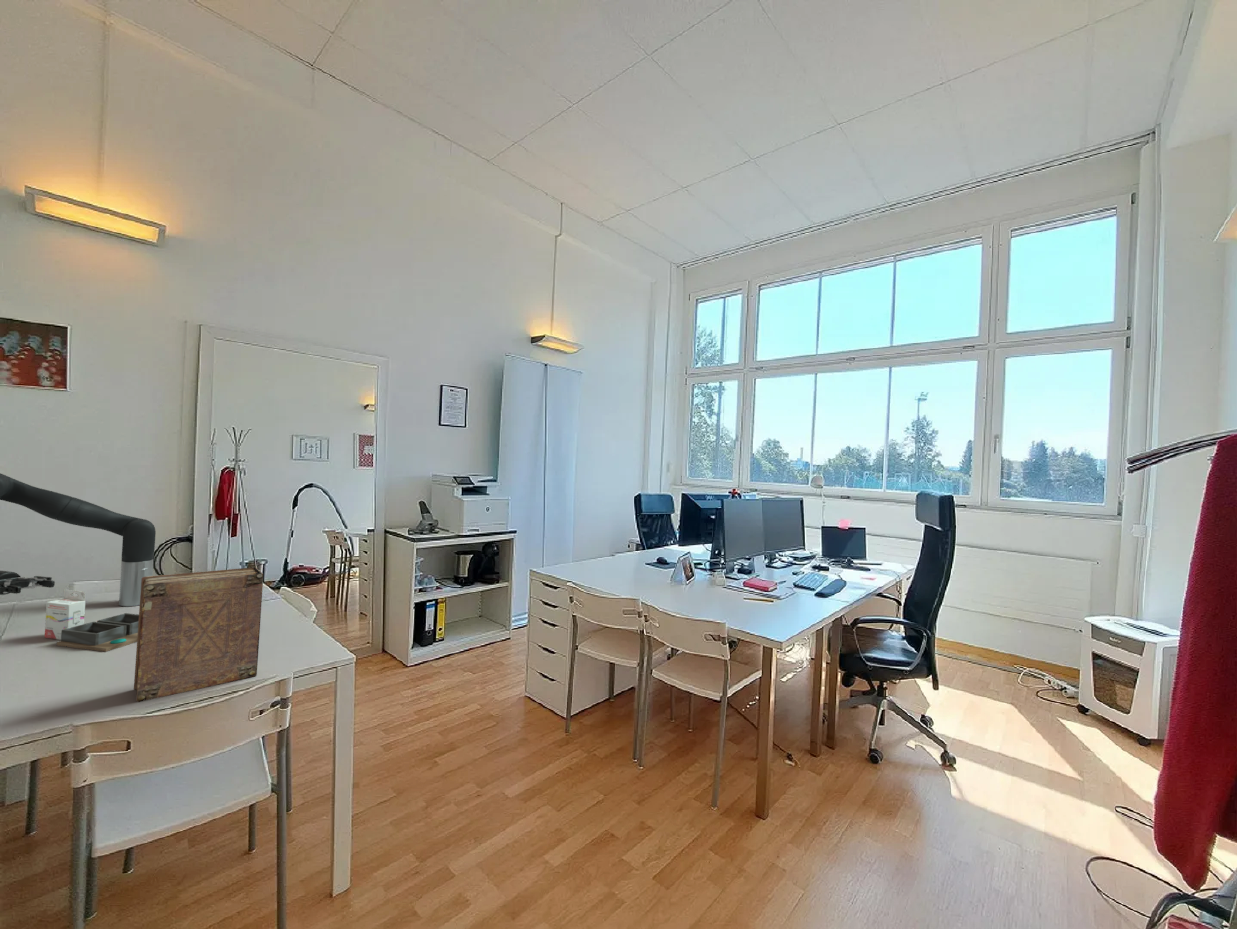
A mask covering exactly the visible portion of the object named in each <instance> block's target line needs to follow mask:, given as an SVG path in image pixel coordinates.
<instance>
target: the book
mask: <svg viewBox="0 0 1237 929" xmlns="http://www.w3.org/2000/svg"><path fill="white" fill-rule="evenodd" d="M263 588H264V573H263V572H262V571H261V570H260V569H258V568H257V567H256V566H253V567H245V568H244V567H243V568H232V569H221V570H209V571H208V570H207V571H197V572H196V571H195V572H184V573H175V574H173V573H172V574H162V575H153V576H148V577H143V578H142V580H141V594H140V605H139V610H138V611H139V612H138V615H139V622H138V636H137V642H136V651H135V652H136V656H135V668H134V681H133V690H135V691H136V703H140V702H145V701H149V700H154V699H158V698H159V699H160V698H164V697H167V696H172V695H177V694H182V693H186V692H191V691H195V690H199V689H203V688H204V689H205V688H209V687H213V686H217V685H223V684H226V683H231V682H236V681H240V680H245V679H249V678H254V677H257V675H258V661H259V647H260V646H259V645H260V632H261V630H260V629H261V618H262V617H261V615H262V605H263V604H262V603H263V602H262V601H263V600H262V599H263Z"/></svg>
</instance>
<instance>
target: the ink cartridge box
mask: <svg viewBox="0 0 1237 929" xmlns="http://www.w3.org/2000/svg"><path fill="white" fill-rule="evenodd" d="M71 594H74V595H71ZM85 612H86V593H85V591H81V590H73V589H72V590H71V589H63V598H58V599H54V600H50V601H46V608H45V623H44V624H45V626H44V638H46V639H54V640H59V641H61V632H62V630H64V629H68V628H71V627H75V626H79V625H83V624H85V618H86V617H85V616H86V614H85Z"/></svg>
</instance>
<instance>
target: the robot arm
mask: <svg viewBox="0 0 1237 929" xmlns="http://www.w3.org/2000/svg"><path fill="white" fill-rule="evenodd" d="M0 500H1V501H4V502H8V503H13V504H16V505H18V506H19V505H20V506H21V507H25V508H27V509H29V510H32V511H33V512H35V513H37V514H40V515H42V516H44V517H47V518H49V519H52V520H55V521H58V522H62V523H66V524H69V525H73V526H79V527H83V528H84V527H85V528H91V529H99V530H102V531H107V532H110V533H113V534H115V535H118V536H120V537H122V544H121V545H122V546H121V560H120V561H121V565H120V577H119V578H120V580H119V581H120V582H119V596H118V597H119V598H118V605H119V606H121V607H134V606H135V607H137V606H140V594H141V580H142V578H143V577H148V576H154V558H155V551H156V550H155V548H156V547H155V546H156V526H155V525H154V524H153V523H152V522H151V521H150V520H147V519H146V518H145V519H144V518H141V517H140V518H139V517H135V516H131V515H127V514H122V513H118V512H116V511H113V510H110V509H108V508H105V507H103V506H100V505H97V504H95V503H92V502H89V501H86V500H83V499H80V498H78V497H74V496H70V495H67V494H64V493H60V492H57V491H52V490H48V489H45V488H40V487H37V486H33V485H31V484H28V483H25V482H23V481H21V480H17V479H15V478H13V477H10V476H8V475H6V474H3V473H0ZM52 579H53V577H51V576H42V575H41V576H40V575H35V576H33V577H25V576H22V575H20V574H19V573H17V572H14V571H8V570H1V569H0V596H4V595H8V594H16V595H18V594H20V593H21V590H23V589H26V590H27V589H29V590H30V589H35V588H37V587H38V588H39V587H40V588H41V587H42V588H51V589H52V588H54V587H55V583H56V582H55V580H52ZM30 584H31V585H30Z"/></svg>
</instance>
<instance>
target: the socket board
mask: <svg viewBox="0 0 1237 929" xmlns="http://www.w3.org/2000/svg"><path fill="white" fill-rule="evenodd" d="M138 622H139V613H138V614H137V613H129V612H128V613H127V612H125V613H121V614H117V615H113V616H110V617H106V618H102V619H99V620H97V621H92V622H88V623H87V622H86V623H84V624H83V625H79V626H75V627H71V628H68V629H64V630H62V632H61V640H59V641H56V646H59V647H66V646H67V647H69V648H75V649H81V650H89V651H97V652H106V653H107V652H110V651H112V650H113V651H114V650H117V649H119V648H122V647H125V646H128V645H132V644H134V643H137V636H138Z"/></svg>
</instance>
